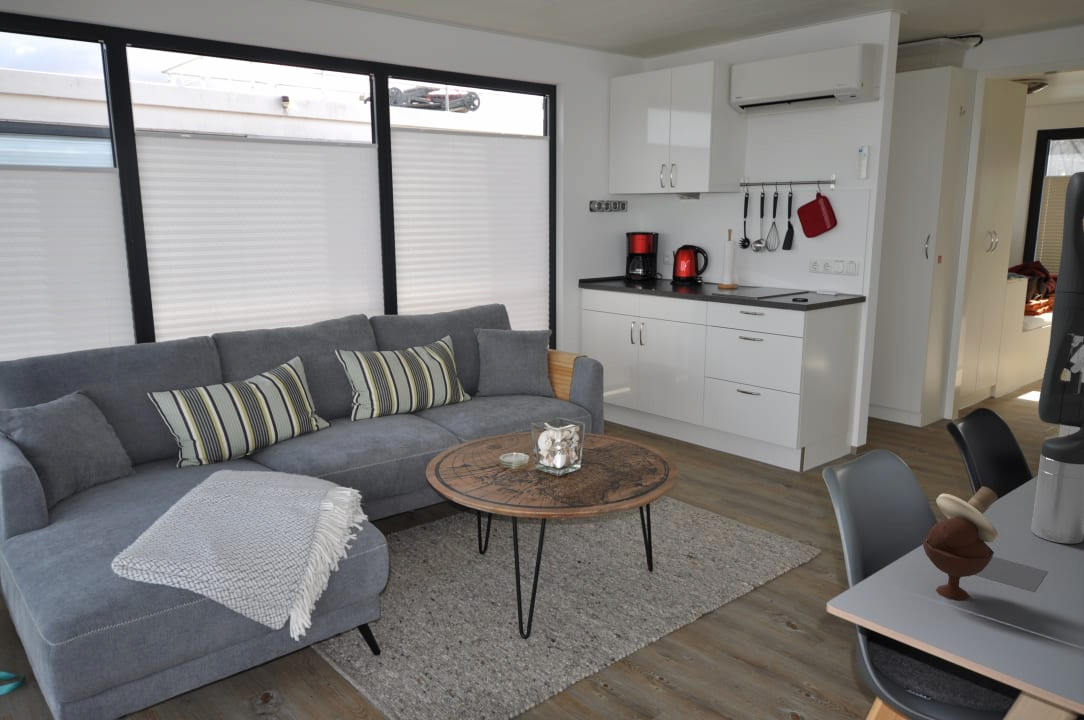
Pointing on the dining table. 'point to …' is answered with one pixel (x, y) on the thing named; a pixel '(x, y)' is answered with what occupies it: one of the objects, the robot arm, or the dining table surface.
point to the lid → (971, 511)
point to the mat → (1013, 574)
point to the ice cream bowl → (956, 553)
